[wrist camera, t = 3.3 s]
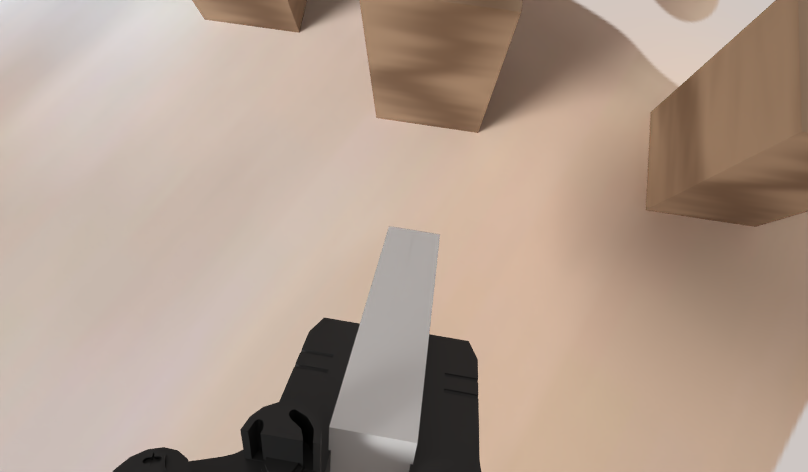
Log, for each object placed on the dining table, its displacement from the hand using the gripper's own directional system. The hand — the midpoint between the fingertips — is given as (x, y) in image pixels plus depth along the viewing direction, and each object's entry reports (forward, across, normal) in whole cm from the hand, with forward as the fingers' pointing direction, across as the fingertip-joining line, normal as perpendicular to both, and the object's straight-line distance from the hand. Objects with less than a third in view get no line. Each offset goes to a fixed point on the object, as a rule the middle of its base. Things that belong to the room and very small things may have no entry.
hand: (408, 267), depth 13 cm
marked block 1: (+15, +15, 0) cm, 21 cm away
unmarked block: (+17, -1, +2) cm, 17 cm away
